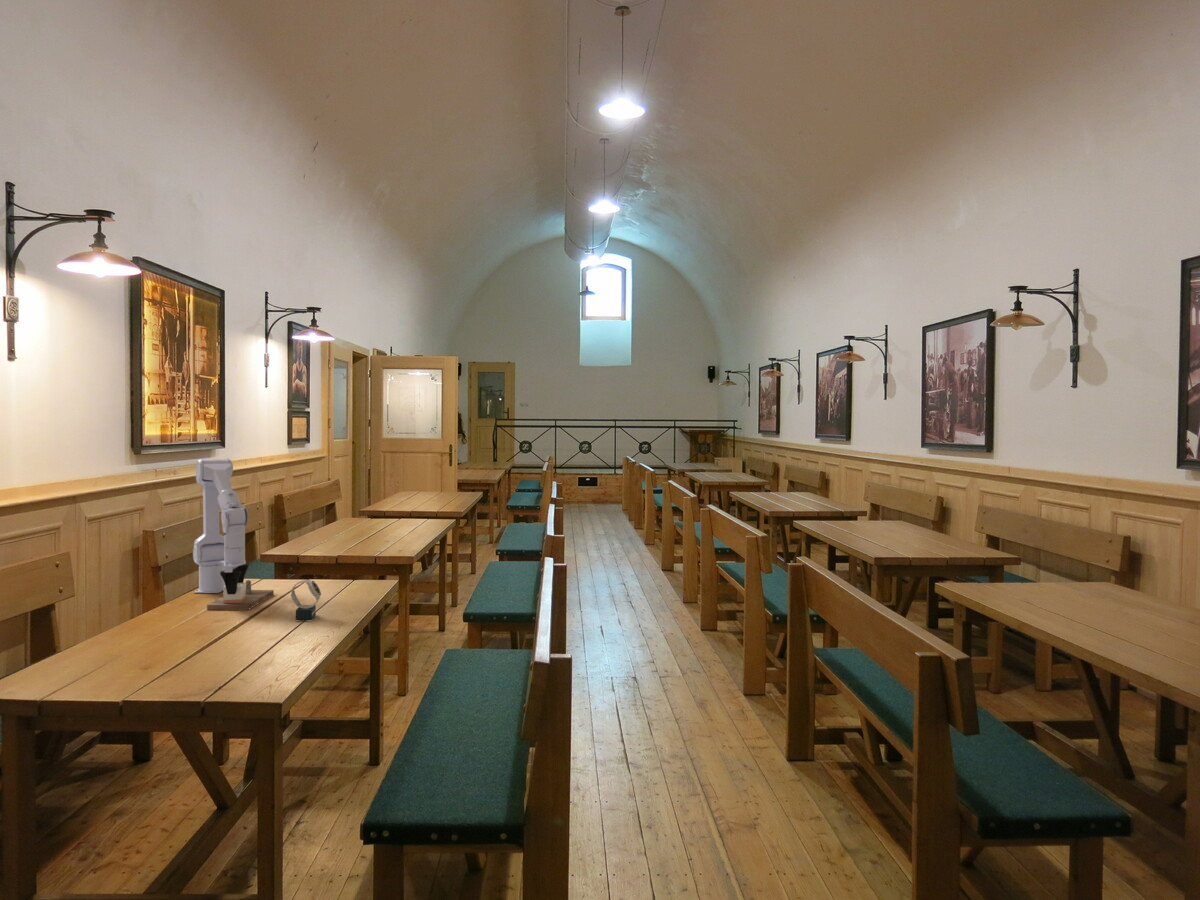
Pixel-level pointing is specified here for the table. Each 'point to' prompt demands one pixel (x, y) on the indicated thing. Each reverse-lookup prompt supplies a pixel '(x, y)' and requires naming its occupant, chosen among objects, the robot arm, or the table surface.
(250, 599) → the pin board
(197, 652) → the table surface
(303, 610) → the watch
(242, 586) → the sleeve
